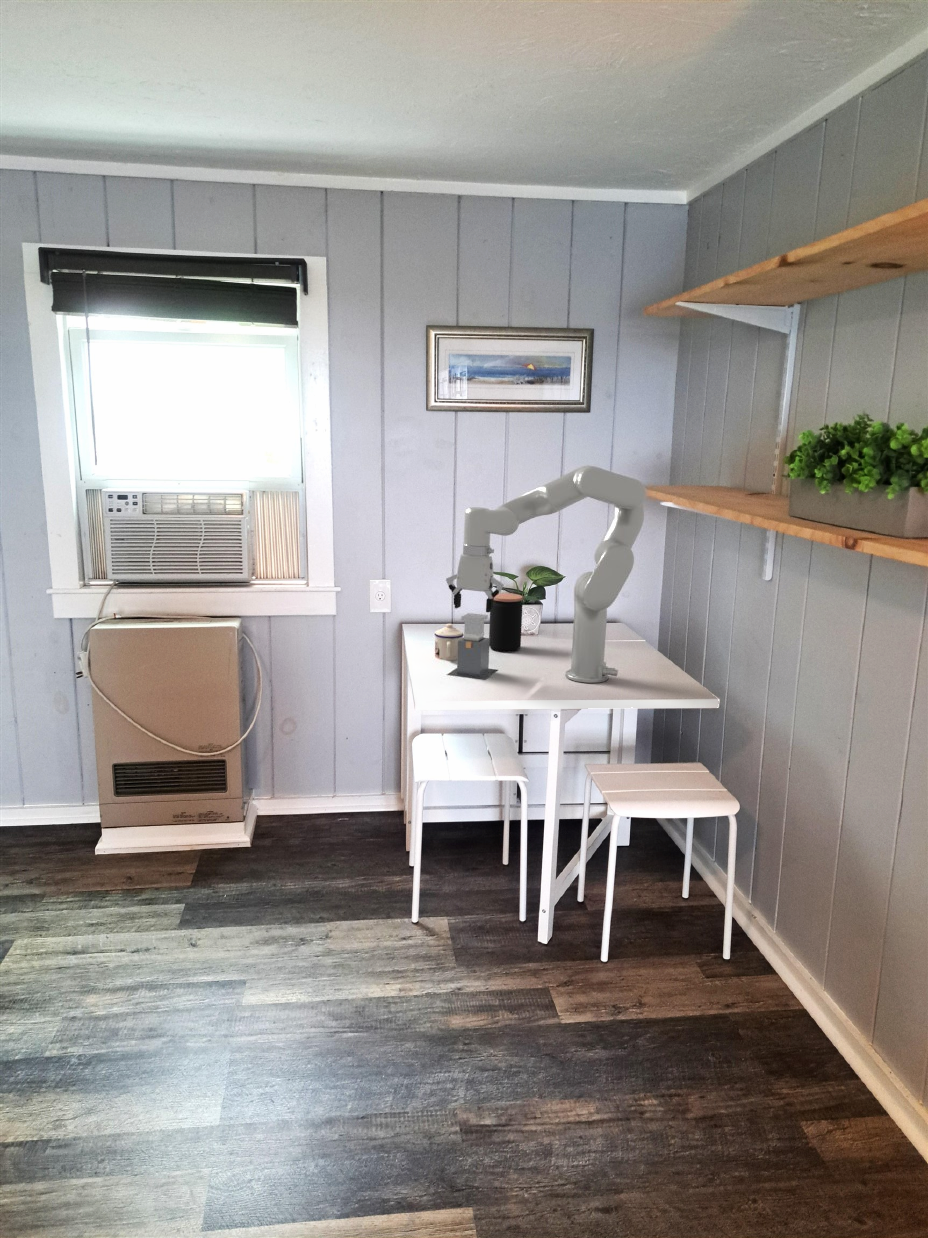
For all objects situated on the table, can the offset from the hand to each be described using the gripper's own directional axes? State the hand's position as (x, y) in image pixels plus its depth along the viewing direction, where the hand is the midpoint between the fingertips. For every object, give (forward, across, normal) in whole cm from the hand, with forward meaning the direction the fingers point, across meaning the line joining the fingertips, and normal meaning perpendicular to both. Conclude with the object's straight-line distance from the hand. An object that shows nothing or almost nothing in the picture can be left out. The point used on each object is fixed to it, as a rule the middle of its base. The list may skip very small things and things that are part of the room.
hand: (473, 609), depth 244 cm
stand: (+20, -1, 0) cm, 20 cm away
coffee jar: (+20, +1, -36) cm, 42 cm away
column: (+19, -1, 0) cm, 19 cm away
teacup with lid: (+20, +12, -13) cm, 27 cm away
